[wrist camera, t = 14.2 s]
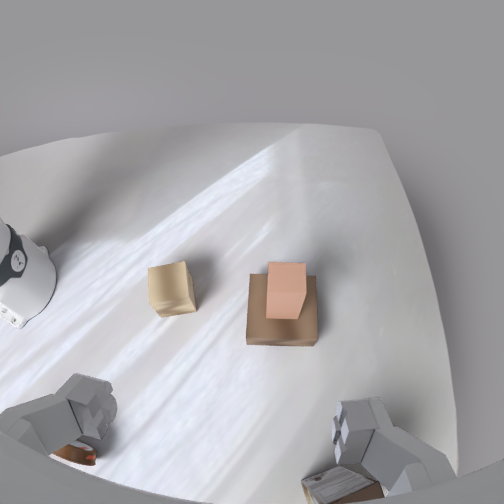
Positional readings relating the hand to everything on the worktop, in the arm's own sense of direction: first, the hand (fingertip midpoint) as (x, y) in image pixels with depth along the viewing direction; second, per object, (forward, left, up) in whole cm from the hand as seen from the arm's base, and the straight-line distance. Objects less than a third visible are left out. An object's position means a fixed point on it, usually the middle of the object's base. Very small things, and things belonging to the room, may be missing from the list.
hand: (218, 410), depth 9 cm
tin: (-29, -10, -35) cm, 46 cm away
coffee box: (+12, -13, -35) cm, 39 cm away
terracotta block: (+4, +16, -30) cm, 35 cm away
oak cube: (-13, +18, -34) cm, 41 cm away
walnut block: (+4, +16, -34) cm, 38 cm away
